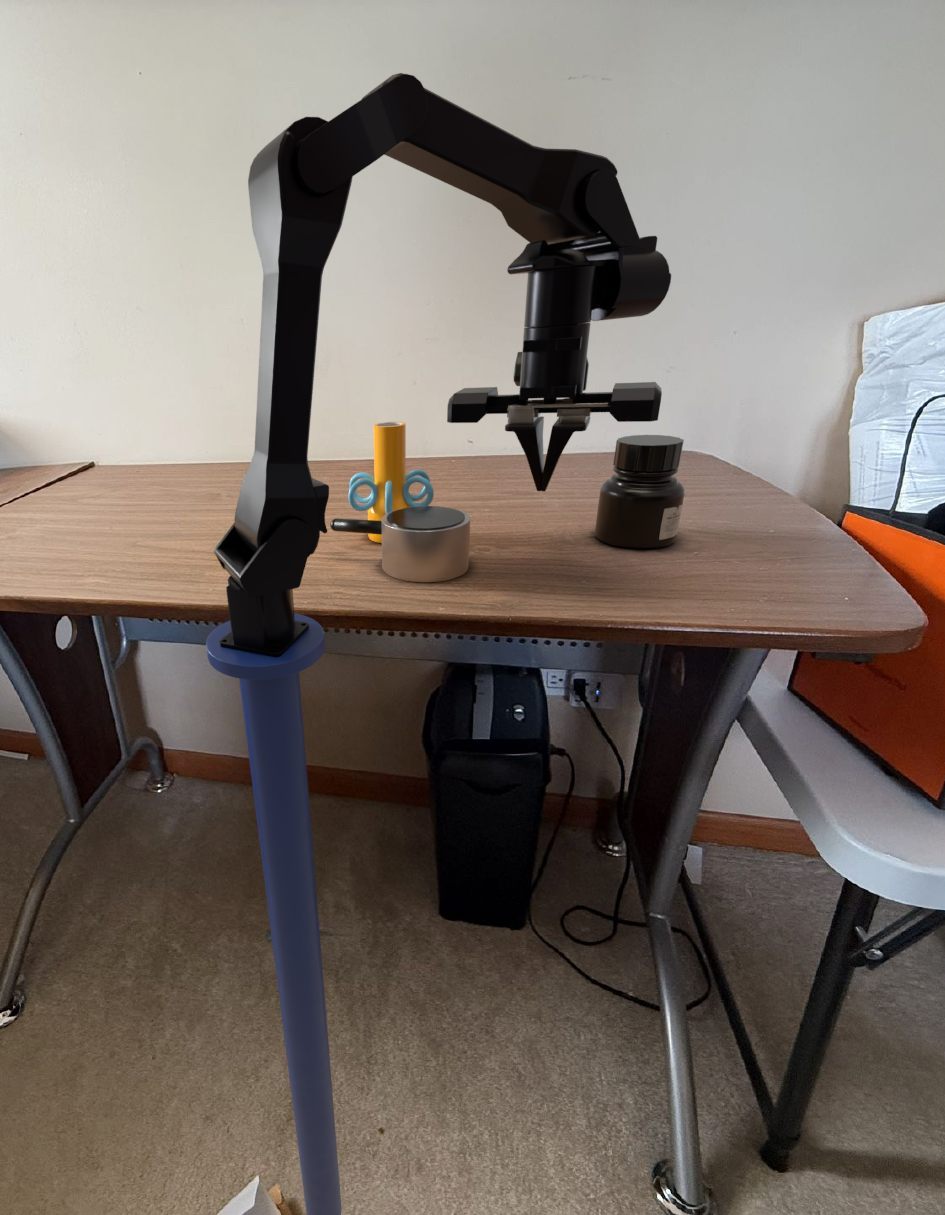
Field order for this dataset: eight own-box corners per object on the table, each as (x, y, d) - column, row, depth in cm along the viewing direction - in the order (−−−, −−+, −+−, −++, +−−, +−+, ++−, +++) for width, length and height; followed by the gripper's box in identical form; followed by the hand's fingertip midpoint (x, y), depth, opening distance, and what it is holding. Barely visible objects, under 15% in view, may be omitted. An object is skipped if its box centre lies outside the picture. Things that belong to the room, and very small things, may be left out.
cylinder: (369, 557, 79) (366, 435, 72) (333, 535, 88) (328, 426, 81) (451, 539, 82) (455, 422, 76) (408, 520, 91) (409, 414, 85)
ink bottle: (685, 552, 72) (706, 447, 67) (600, 551, 74) (615, 449, 69) (664, 526, 80) (681, 431, 75) (588, 526, 83) (600, 433, 78)
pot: (475, 555, 76) (477, 506, 74) (458, 586, 68) (460, 532, 66) (345, 545, 83) (344, 500, 81) (317, 572, 75) (314, 523, 73)
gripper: (671, 314, 60) (645, 475, 67) (474, 328, 69) (468, 470, 75) (674, 318, 51) (644, 503, 58) (447, 334, 60) (443, 494, 66)
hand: (541, 490), depth 65 cm, fingers closed
